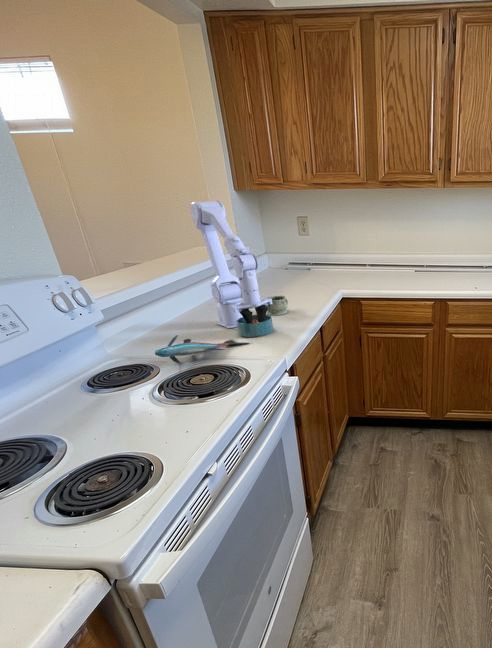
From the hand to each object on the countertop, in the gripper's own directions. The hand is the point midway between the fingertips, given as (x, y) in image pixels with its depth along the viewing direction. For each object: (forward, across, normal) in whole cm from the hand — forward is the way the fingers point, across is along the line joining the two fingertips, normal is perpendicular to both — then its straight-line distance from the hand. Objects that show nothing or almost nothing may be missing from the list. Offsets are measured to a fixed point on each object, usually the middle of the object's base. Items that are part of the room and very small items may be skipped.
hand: (256, 327), depth 149 cm
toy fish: (+1, 0, 0) cm, 1 cm away
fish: (+2, -23, -8) cm, 24 cm away
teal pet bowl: (+2, 0, +1) cm, 2 cm away
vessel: (+2, +20, +18) cm, 27 cm away
